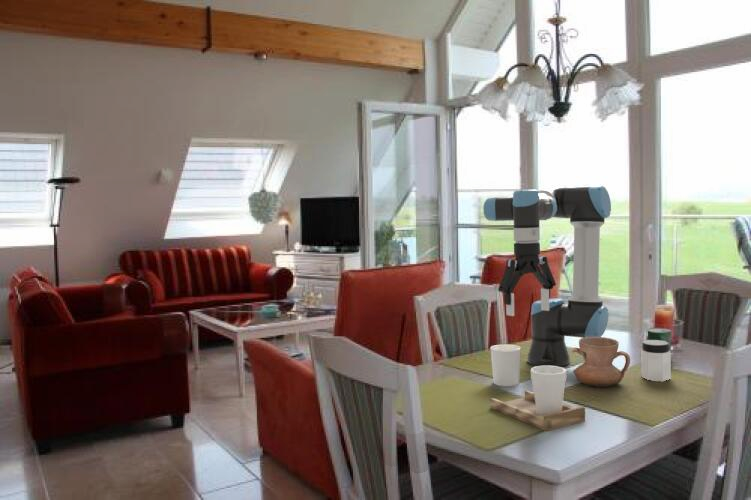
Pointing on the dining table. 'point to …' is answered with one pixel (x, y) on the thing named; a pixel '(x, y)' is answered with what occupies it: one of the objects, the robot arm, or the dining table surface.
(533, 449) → the dining table surface
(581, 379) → the ceramic jug
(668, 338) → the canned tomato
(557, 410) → the foam cup
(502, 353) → the candle holder
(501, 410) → the track
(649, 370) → the jar
